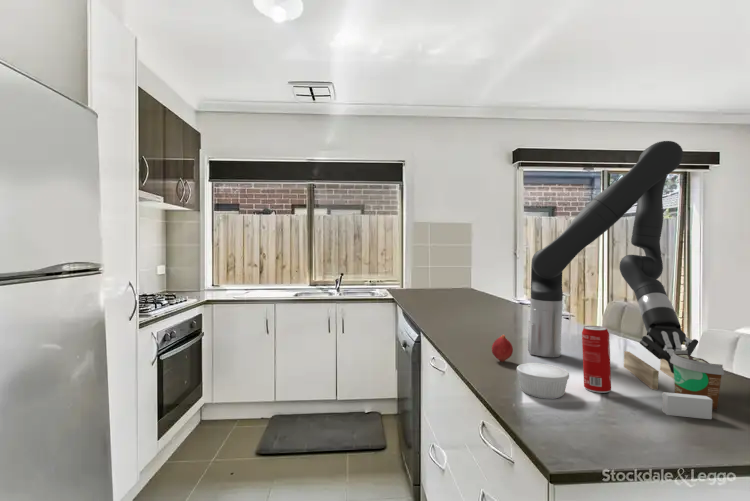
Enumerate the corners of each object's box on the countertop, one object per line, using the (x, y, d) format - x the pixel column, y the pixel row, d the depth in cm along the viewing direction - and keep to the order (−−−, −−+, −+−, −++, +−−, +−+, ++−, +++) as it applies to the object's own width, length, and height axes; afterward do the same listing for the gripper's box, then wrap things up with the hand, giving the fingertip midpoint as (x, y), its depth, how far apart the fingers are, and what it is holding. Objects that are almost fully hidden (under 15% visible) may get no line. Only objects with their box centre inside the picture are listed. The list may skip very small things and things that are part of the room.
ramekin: (506, 386, 98) (506, 365, 98) (541, 381, 103) (541, 360, 103) (542, 404, 88) (542, 380, 88) (579, 397, 92) (579, 374, 92)
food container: (656, 389, 98) (658, 348, 98) (684, 391, 98) (685, 349, 97) (690, 410, 86) (692, 363, 86) (722, 412, 85) (724, 365, 85)
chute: (652, 389, 98) (653, 370, 98) (623, 366, 116) (624, 351, 116) (701, 393, 96) (702, 374, 96) (664, 370, 114) (665, 354, 114)
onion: (490, 363, 117) (491, 335, 117) (492, 357, 122) (493, 331, 122) (511, 365, 115) (512, 337, 114) (513, 360, 120) (513, 333, 120)
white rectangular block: (666, 414, 84) (667, 395, 84) (662, 410, 86) (662, 392, 85) (711, 419, 82) (712, 399, 82) (705, 415, 84) (706, 396, 84)
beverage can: (614, 395, 94) (617, 330, 94) (584, 392, 95) (586, 328, 95) (605, 386, 100) (608, 325, 99) (577, 383, 101) (579, 323, 101)
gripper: (634, 304, 107) (655, 364, 95) (692, 307, 104) (720, 369, 92) (626, 320, 112) (644, 379, 101) (680, 323, 109) (705, 384, 98)
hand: (680, 374), depth 97 cm, fingers closed
